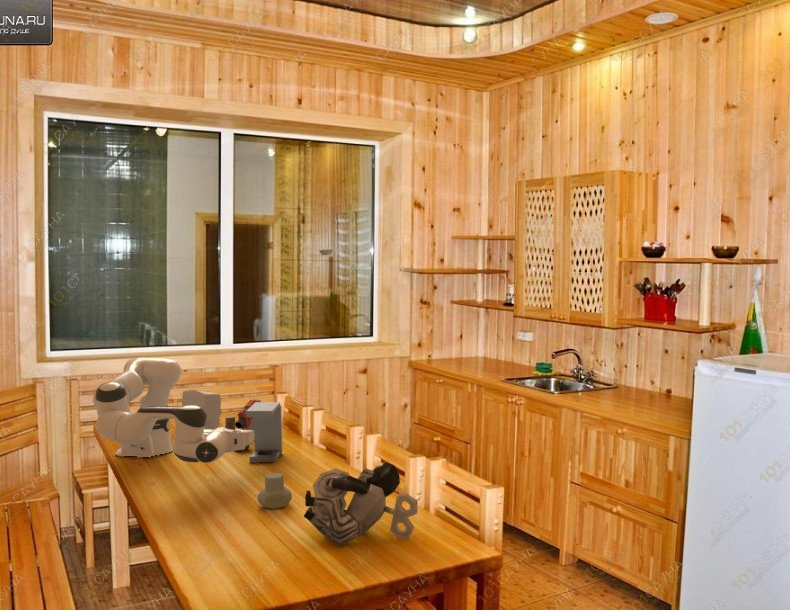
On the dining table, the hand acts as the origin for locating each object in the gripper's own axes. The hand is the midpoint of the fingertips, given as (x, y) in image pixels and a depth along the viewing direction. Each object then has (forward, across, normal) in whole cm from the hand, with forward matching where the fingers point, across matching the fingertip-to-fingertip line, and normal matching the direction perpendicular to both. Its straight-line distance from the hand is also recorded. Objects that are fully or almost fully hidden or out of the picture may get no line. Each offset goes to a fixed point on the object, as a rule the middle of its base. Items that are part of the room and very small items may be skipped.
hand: (231, 431), depth 273 cm
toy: (-58, +54, -16) cm, 81 cm away
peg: (-1, 0, -7) cm, 7 cm away
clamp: (+33, -6, -16) cm, 37 cm away
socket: (+17, +8, -16) cm, 25 cm away
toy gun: (+56, -8, -16) cm, 58 cm away
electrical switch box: (+64, -32, -16) cm, 73 cm away
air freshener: (-35, +24, -16) cm, 46 cm away
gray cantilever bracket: (+17, +8, -16) cm, 25 cm away
